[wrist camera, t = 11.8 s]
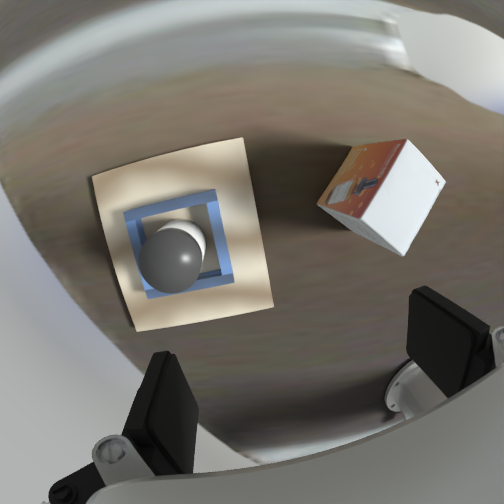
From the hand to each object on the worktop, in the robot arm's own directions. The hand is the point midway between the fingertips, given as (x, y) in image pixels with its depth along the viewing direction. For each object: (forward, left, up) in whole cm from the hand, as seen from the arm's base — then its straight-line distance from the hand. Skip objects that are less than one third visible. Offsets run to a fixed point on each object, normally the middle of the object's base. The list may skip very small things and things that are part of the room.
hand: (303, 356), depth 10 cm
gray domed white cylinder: (+1, +7, -19) cm, 21 cm away
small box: (+3, -12, -21) cm, 24 cm away
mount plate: (+1, +7, -20) cm, 22 cm away
